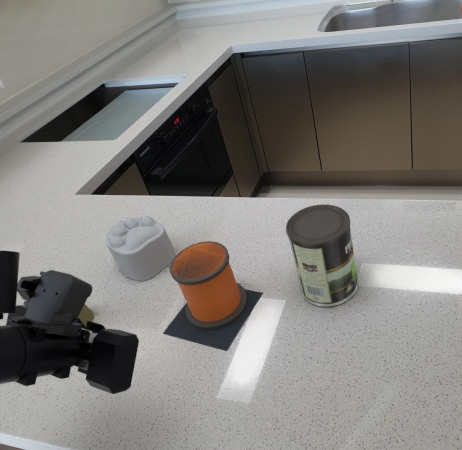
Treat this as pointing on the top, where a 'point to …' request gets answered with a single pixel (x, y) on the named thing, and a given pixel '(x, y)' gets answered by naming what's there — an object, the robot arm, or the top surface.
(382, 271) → the top surface
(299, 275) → the coffee can
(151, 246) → the lumpy-topped squat cylinder
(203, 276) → the spool
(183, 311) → the mat
